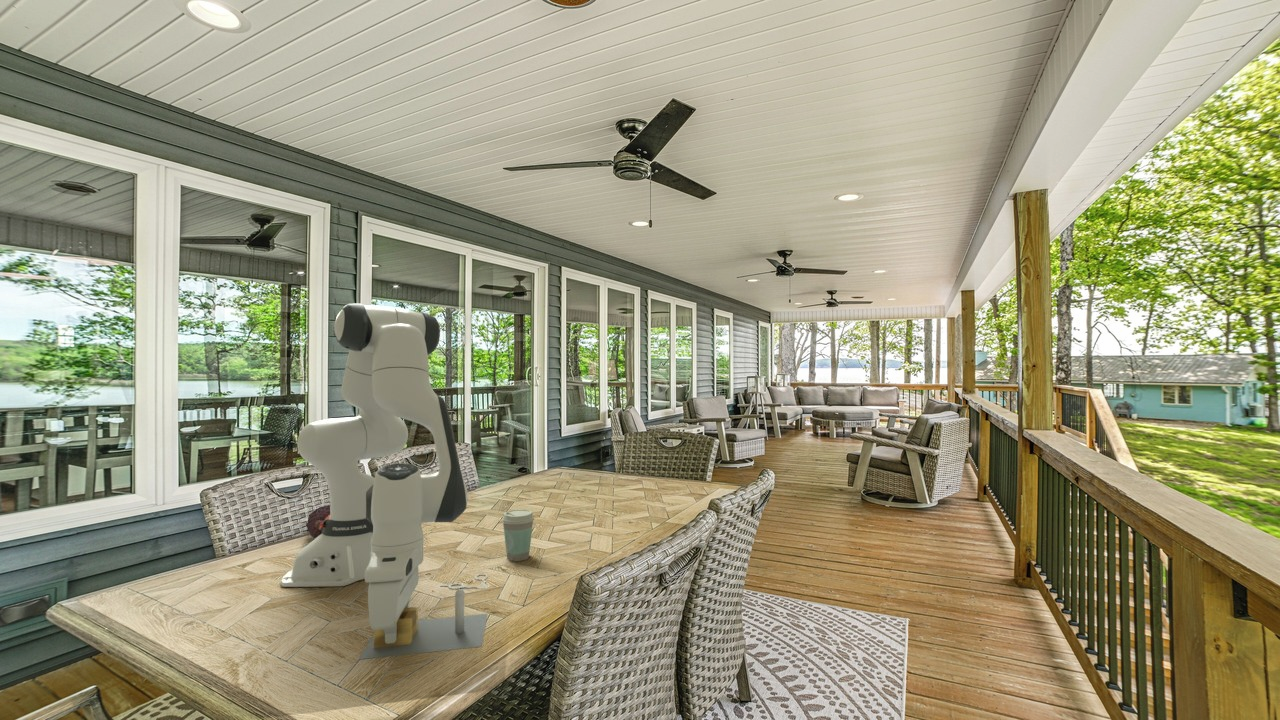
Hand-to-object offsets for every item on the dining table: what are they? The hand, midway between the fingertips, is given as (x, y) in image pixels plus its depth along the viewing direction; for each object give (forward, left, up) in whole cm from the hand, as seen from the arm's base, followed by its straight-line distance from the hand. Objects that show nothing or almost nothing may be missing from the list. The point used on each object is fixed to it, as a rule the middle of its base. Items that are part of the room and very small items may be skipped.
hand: (396, 631), depth 95 cm
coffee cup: (+20, +43, -3) cm, 48 cm away
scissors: (+13, +23, -3) cm, 27 cm away
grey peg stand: (+5, 0, -3) cm, 6 cm away
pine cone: (-38, +73, -3) cm, 82 cm away
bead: (0, 0, -1) cm, 1 cm away
